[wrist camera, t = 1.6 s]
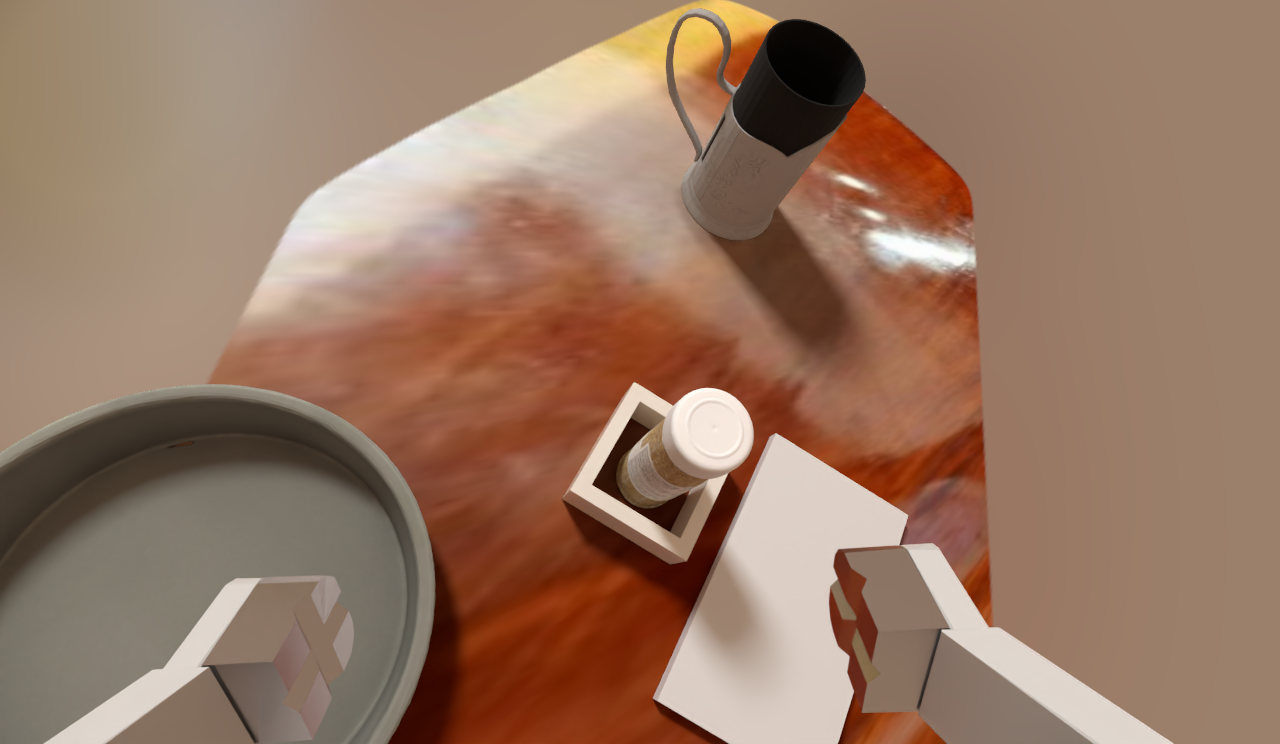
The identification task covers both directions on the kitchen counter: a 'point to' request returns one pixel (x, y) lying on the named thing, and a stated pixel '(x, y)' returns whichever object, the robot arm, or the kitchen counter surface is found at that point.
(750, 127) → the grey ceramic mug
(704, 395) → the sprinkles bottle
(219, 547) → the cake pan
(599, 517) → the stand
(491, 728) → the kitchen counter surface
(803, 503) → the white board
